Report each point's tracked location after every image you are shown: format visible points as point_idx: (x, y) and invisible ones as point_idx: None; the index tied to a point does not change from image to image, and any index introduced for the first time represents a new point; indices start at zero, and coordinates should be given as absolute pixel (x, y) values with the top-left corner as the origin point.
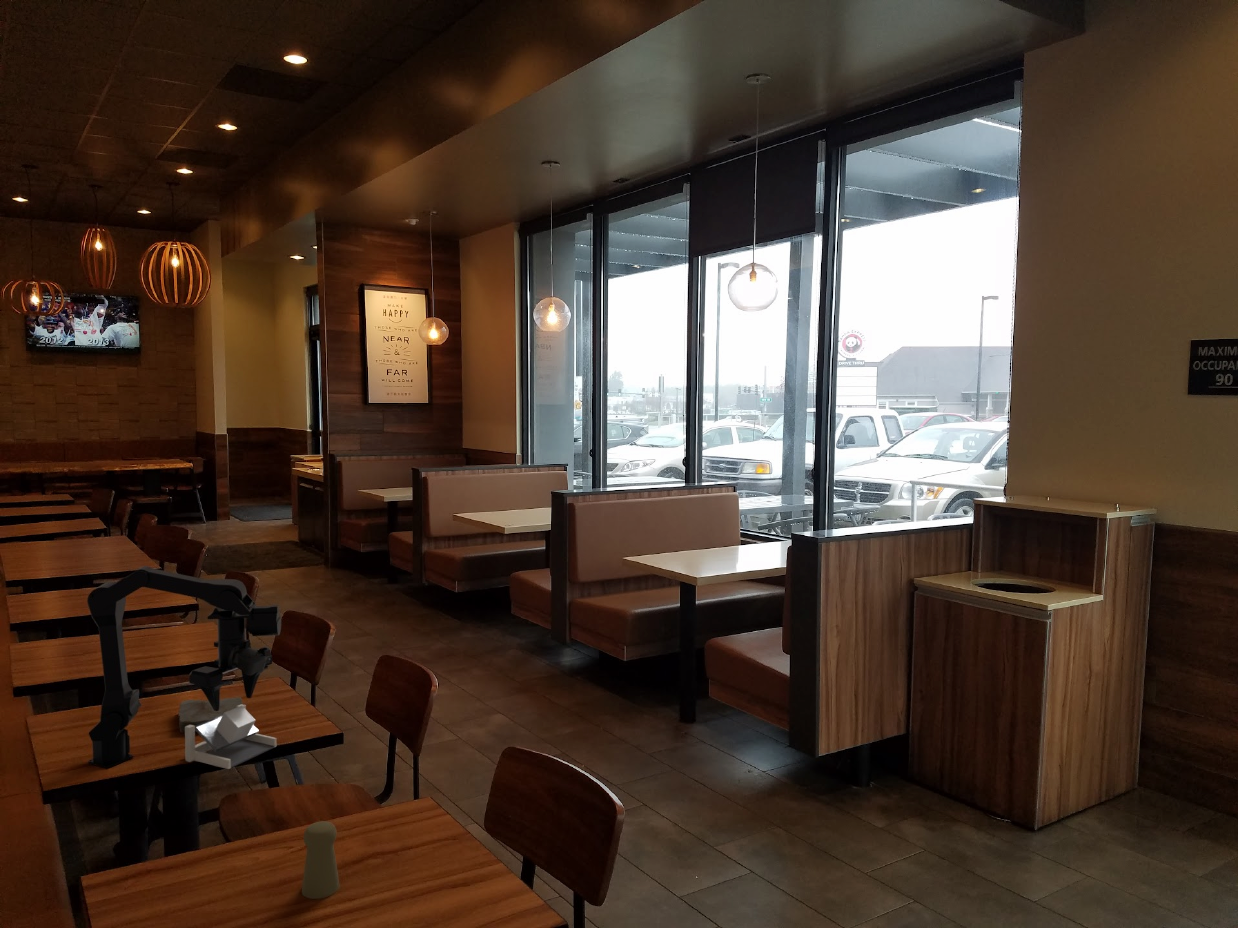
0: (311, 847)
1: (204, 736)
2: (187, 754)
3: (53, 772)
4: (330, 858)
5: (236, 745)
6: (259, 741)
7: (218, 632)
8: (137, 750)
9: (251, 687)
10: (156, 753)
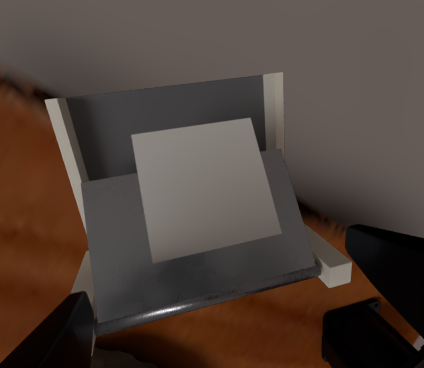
0: None
1: (300, 214)
2: None
3: (412, 338)
4: None
5: None
6: (85, 173)
7: None
8: (294, 342)
9: (46, 360)
10: (287, 305)
